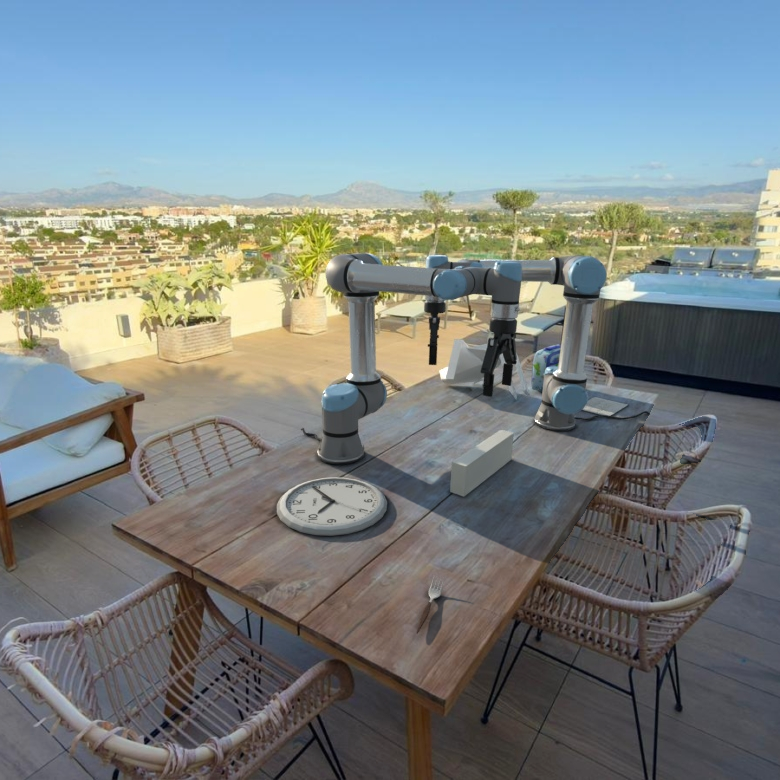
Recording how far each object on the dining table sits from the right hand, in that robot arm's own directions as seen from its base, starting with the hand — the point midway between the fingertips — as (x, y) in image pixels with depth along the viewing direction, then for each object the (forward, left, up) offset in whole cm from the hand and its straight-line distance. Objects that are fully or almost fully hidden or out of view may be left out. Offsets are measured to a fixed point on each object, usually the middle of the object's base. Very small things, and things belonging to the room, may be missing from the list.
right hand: (432, 360), depth 189 cm
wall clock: (+24, +60, -27) cm, 70 cm away
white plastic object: (-21, -51, -27) cm, 62 cm away
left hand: (-20, +35, 0) cm, 41 cm away
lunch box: (-55, -62, -27) cm, 88 cm away
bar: (-18, +35, -27) cm, 48 cm away
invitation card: (-72, -39, -27) cm, 87 cm away
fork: (-4, +97, -27) cm, 101 cm away
